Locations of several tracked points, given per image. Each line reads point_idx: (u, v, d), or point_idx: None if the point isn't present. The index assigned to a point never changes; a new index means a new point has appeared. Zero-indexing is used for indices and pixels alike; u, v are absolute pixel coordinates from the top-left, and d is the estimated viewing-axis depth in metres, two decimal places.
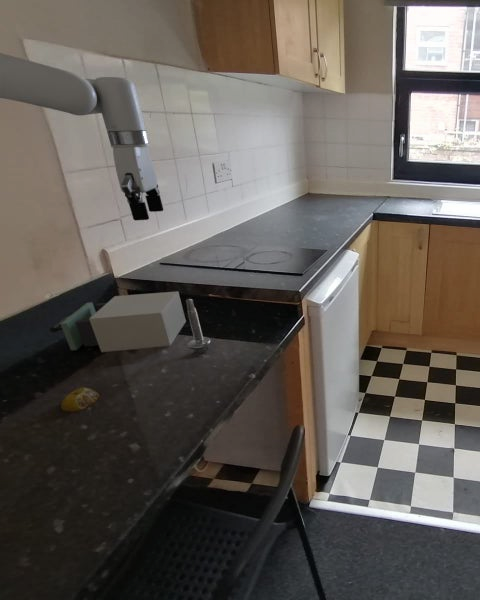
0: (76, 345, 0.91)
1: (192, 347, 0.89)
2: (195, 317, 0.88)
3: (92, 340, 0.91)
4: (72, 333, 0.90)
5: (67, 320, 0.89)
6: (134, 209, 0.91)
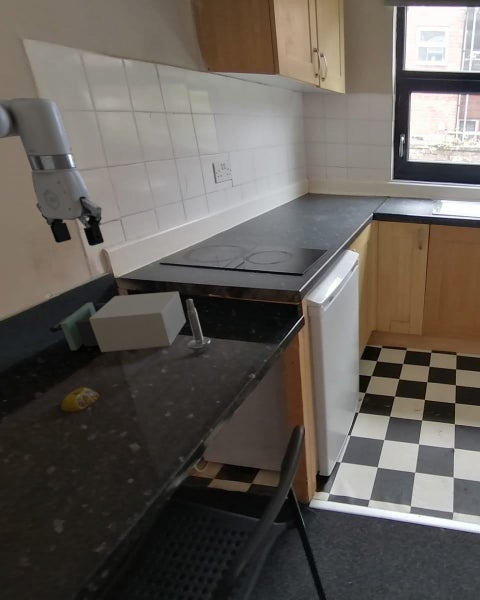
0: (76, 345, 0.91)
1: (192, 347, 0.89)
2: (195, 317, 0.88)
3: (92, 340, 0.91)
4: (72, 333, 0.90)
5: (67, 320, 0.89)
6: (94, 233, 0.89)
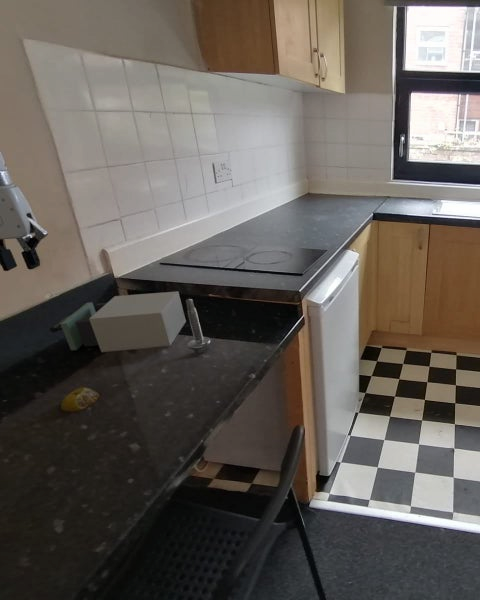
0: (76, 345, 0.91)
1: (192, 347, 0.89)
2: (195, 317, 0.88)
3: (92, 340, 0.91)
4: (72, 333, 0.90)
5: (67, 320, 0.89)
6: (33, 256, 0.86)
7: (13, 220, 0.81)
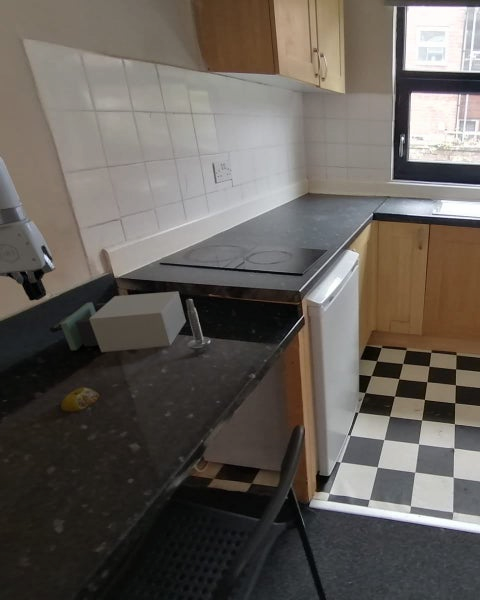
0: (76, 345, 0.91)
1: (192, 347, 0.89)
2: (195, 317, 0.88)
3: (92, 340, 0.91)
4: (72, 333, 0.90)
5: (67, 320, 0.89)
6: (39, 287, 0.89)
7: (29, 254, 0.84)
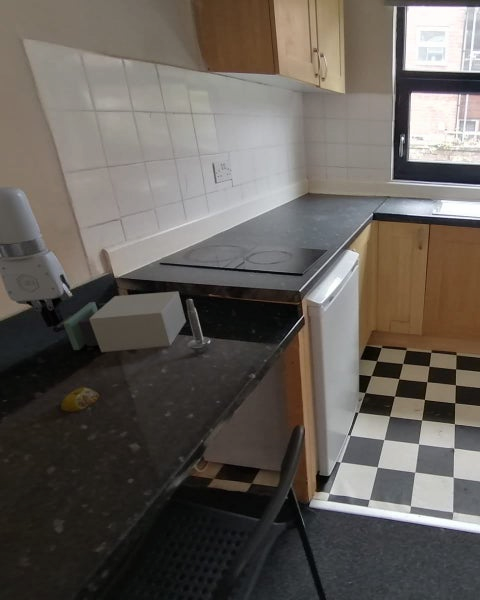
0: (79, 345, 0.91)
1: (192, 347, 0.89)
2: (195, 317, 0.88)
3: (95, 340, 0.91)
4: (75, 333, 0.90)
5: (70, 320, 0.89)
6: (57, 314, 0.92)
7: (48, 283, 0.87)
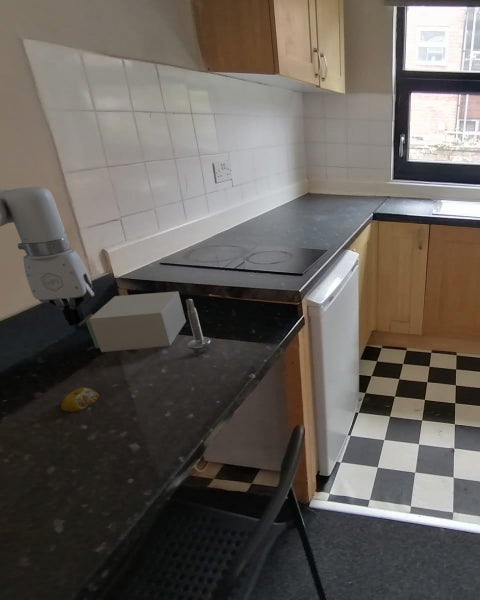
0: None
1: (192, 347, 0.89)
2: (195, 317, 0.88)
3: None
4: None
5: None
6: (79, 313, 0.93)
7: (72, 282, 0.88)
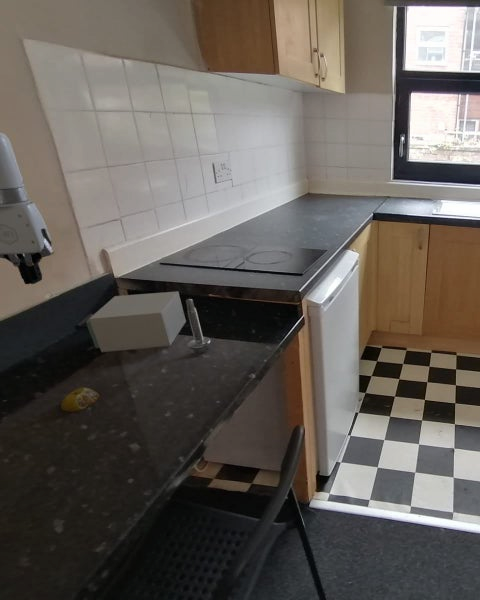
0: None
1: (192, 347, 0.89)
2: (195, 317, 0.88)
3: None
4: None
5: None
6: (36, 271, 0.87)
7: (28, 236, 0.82)
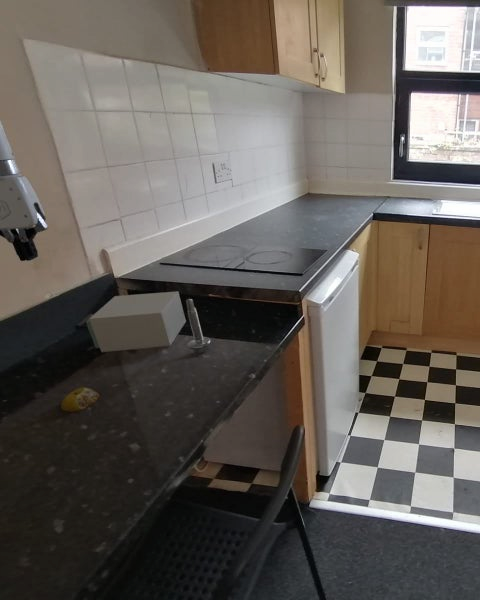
0: None
1: (192, 347, 0.89)
2: (195, 317, 0.88)
3: None
4: None
5: None
6: (31, 247, 0.85)
7: (20, 210, 0.80)
